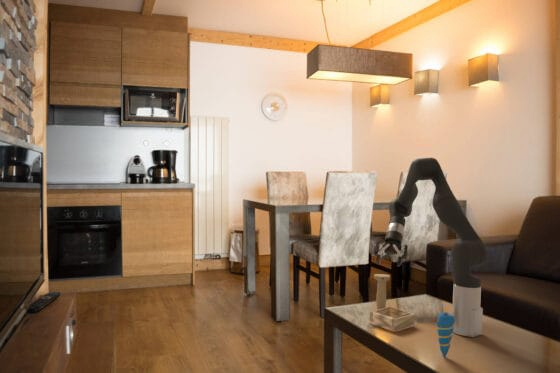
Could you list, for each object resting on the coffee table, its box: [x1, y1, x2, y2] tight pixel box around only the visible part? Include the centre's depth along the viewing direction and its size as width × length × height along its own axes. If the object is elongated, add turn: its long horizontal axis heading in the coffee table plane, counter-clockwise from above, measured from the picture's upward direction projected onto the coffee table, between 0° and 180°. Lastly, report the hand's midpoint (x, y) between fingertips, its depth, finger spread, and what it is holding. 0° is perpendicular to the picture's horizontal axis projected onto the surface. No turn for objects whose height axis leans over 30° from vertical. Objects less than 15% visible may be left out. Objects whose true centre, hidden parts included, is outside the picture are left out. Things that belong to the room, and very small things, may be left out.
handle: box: [373, 273, 391, 310], centre depth 189 cm, size 5×6×15 cm
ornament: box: [436, 309, 455, 358], centre depth 143 cm, size 5×5×15 cm
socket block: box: [369, 306, 415, 333], centre depth 173 cm, size 12×12×5 cm
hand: (388, 264), depth 198 cm, fingers open, 8 cm apart
